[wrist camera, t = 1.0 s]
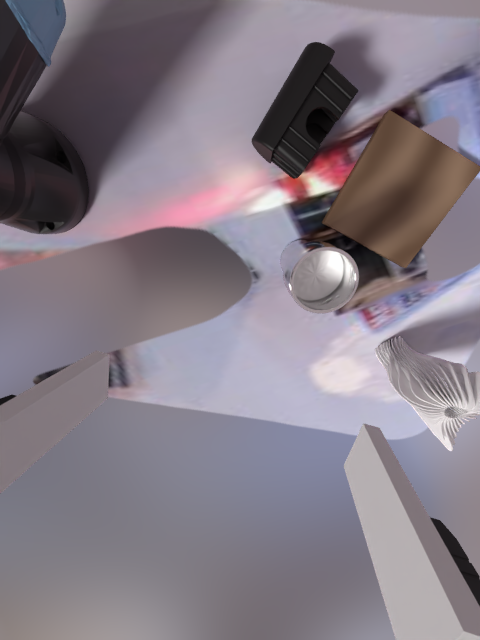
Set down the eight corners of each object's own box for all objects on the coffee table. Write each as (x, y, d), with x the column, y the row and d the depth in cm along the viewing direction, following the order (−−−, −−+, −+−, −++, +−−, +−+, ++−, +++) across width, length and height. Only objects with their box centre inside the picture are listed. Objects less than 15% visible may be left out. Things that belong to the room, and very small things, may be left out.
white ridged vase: (379, 378, 44) (453, 472, 27) (359, 344, 42) (425, 424, 25) (426, 356, 42) (537, 444, 25) (406, 319, 40) (513, 389, 23)
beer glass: (332, 259, 37) (376, 280, 23) (298, 291, 39) (320, 328, 25) (301, 226, 36) (328, 227, 22) (267, 261, 38) (272, 283, 24)
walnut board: (321, 222, 35) (323, 222, 34) (384, 113, 30) (389, 109, 29) (401, 266, 37) (405, 268, 36) (474, 169, 32) (482, 167, 31)
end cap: (300, 68, 29) (311, 26, 23) (344, 109, 30) (366, 79, 24) (251, 150, 33) (249, 133, 26) (292, 183, 34) (300, 174, 28)
